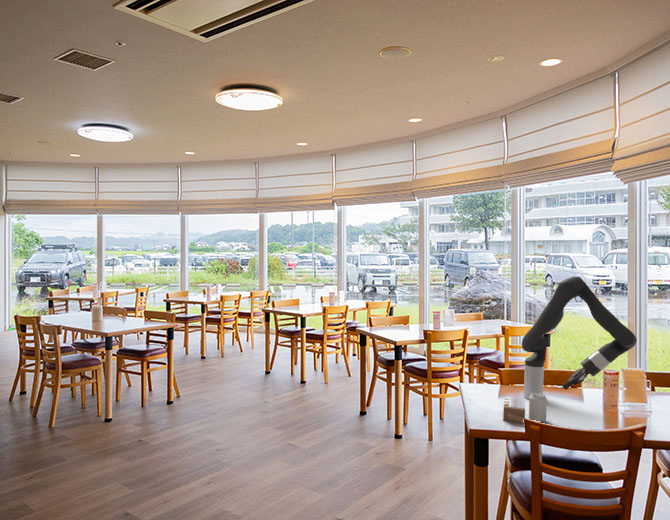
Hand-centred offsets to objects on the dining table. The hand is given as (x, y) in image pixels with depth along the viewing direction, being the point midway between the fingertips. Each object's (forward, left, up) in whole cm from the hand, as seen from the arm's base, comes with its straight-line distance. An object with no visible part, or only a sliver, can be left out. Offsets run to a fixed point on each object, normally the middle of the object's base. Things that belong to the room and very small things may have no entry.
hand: (563, 387), depth 225 cm
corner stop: (0, -20, -16) cm, 26 cm away
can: (0, -10, -16) cm, 19 cm away
